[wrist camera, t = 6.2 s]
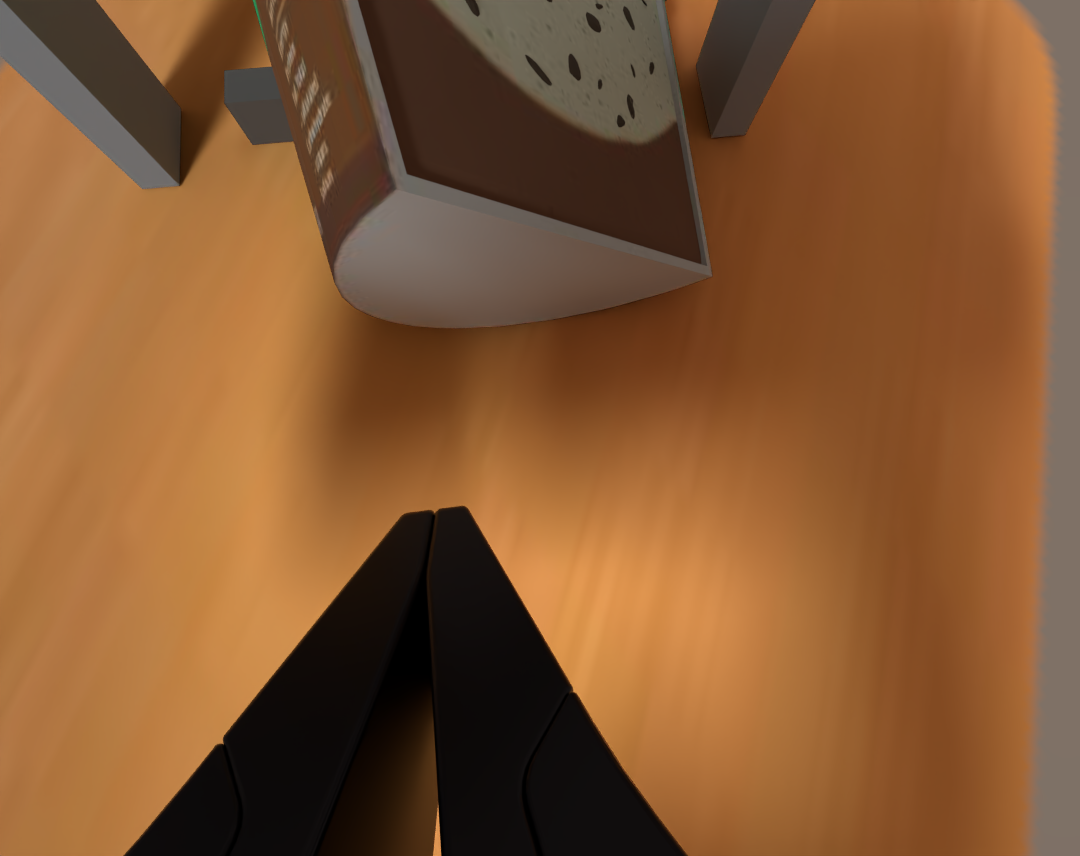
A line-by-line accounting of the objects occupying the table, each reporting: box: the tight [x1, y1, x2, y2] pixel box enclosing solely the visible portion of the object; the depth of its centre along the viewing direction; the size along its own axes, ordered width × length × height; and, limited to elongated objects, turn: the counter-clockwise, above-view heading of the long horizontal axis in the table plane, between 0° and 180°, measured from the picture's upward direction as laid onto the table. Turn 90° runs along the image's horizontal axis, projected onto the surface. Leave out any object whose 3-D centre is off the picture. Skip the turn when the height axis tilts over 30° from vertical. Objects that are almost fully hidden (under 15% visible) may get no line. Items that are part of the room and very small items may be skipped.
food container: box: [253, 0, 713, 328], centre depth 12 cm, size 12×6×10 cm
